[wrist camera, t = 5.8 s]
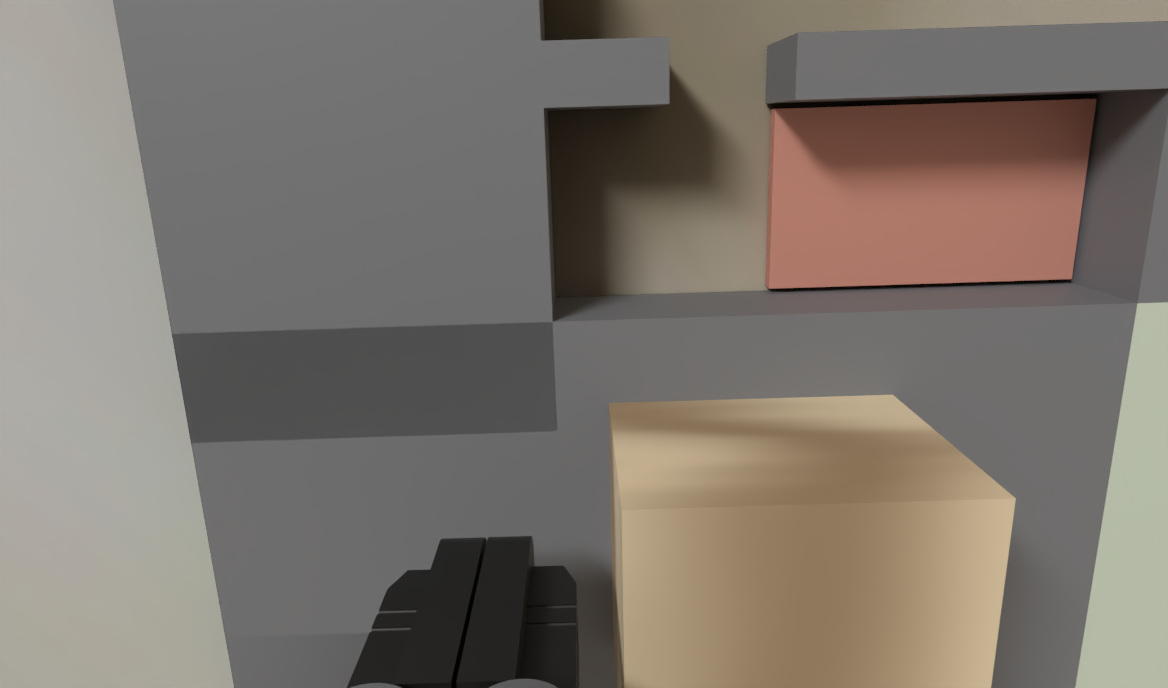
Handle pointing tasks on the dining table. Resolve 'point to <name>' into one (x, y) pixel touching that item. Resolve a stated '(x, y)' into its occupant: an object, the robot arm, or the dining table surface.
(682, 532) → the block
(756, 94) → the dining table surface
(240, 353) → the track
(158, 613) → the dining table surface
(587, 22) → the dining table surface
